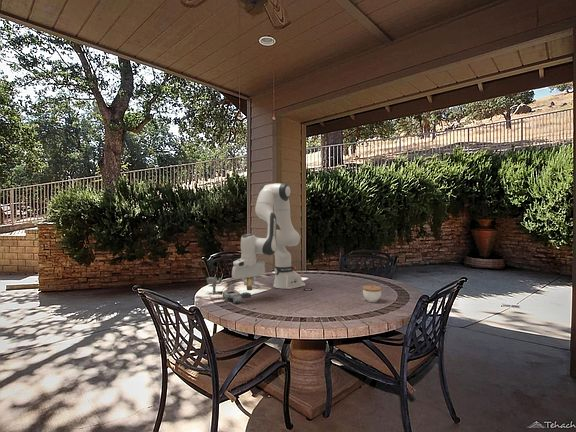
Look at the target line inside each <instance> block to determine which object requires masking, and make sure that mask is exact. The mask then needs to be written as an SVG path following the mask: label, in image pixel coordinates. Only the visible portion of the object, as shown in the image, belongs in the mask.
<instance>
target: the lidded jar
mask: <svg viewBox="0 0 576 432" xmlns="http://www.w3.org/2000/svg"><path fill="white" fill-rule="evenodd" d="M362 295H363V297H364V299H365V300H366V301H367V302H369V303H377V302H378V301H379V300H380V299H381V296H382V287H381V286H379V285H374V284H371V285H369V284H368V285H364V286H362Z"/></svg>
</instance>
